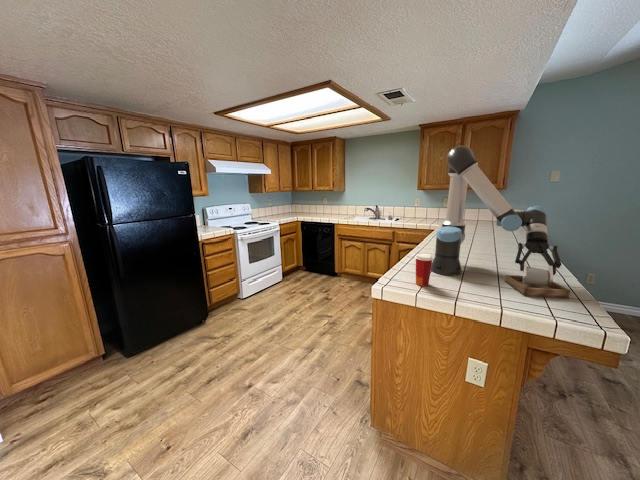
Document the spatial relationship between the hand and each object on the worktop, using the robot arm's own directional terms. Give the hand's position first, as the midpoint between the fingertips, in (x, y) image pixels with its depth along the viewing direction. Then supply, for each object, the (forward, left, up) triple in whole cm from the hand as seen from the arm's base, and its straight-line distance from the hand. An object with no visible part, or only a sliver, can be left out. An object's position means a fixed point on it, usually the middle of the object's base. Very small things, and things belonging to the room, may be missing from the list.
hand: (537, 279), depth 109 cm
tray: (+1, +3, -6) cm, 7 cm away
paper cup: (-46, +3, -6) cm, 46 cm away
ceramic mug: (+1, +5, -4) cm, 6 cm away
